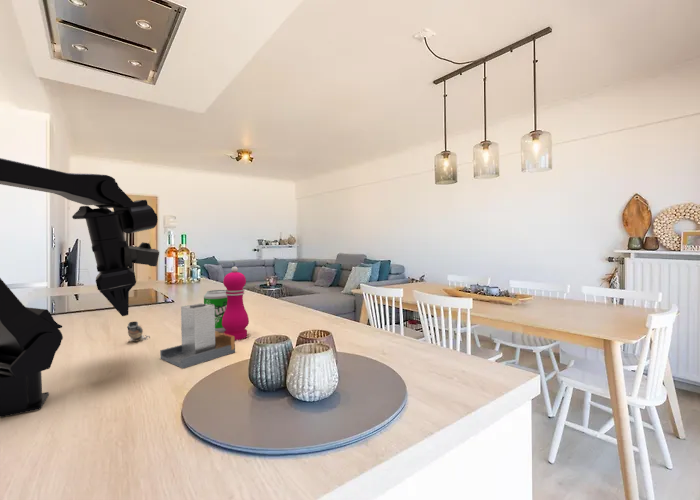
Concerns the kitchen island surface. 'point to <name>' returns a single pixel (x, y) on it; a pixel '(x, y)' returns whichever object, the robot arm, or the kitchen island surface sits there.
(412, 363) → the kitchen island surface
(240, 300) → the pepper mill
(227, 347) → the cradle
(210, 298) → the soda can
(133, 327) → the vase
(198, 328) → the block
